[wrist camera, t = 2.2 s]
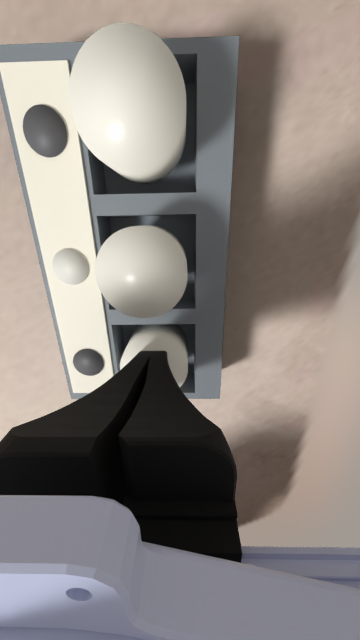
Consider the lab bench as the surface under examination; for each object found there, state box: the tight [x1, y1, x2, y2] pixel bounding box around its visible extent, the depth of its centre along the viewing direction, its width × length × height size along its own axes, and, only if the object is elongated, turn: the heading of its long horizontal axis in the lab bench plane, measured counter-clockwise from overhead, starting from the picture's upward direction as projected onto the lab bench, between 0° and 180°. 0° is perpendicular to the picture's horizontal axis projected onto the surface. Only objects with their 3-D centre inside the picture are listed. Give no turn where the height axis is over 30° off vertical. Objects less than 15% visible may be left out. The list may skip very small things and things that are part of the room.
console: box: [0, 36, 239, 399], centre depth 12 cm, size 15×8×3 cm, turn 1°
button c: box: [69, 23, 186, 184], centre depth 8 cm, size 3×3×3 cm
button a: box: [120, 324, 188, 387], centre depth 13 cm, size 3×3×3 cm
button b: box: [95, 225, 188, 318], centre depth 10 cm, size 3×3×3 cm
